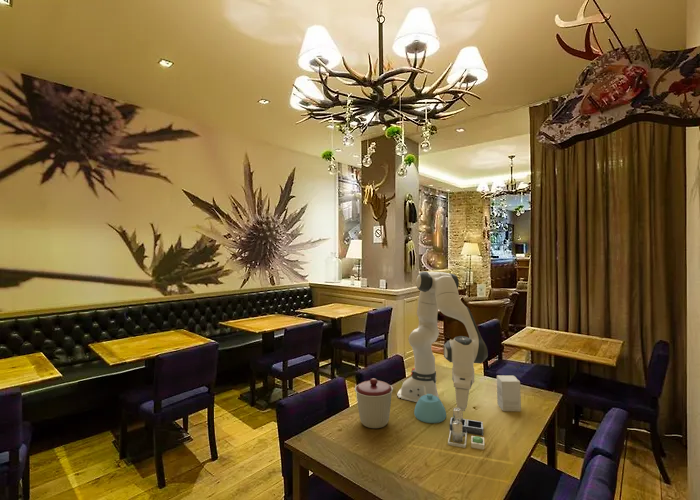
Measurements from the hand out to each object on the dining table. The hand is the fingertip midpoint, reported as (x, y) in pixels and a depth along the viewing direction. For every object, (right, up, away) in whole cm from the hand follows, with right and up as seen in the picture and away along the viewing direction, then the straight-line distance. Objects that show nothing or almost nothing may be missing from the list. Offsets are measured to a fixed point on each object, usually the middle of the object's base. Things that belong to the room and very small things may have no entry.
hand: (463, 409), depth 148 cm
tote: (-2, -14, +1) cm, 15 cm away
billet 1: (+1, -13, +11) cm, 17 cm away
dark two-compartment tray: (+5, -14, +10) cm, 18 cm away
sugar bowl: (-9, -15, +23) cm, 29 cm away
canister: (-36, -15, +19) cm, 43 cm away
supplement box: (+34, -14, +32) cm, 49 cm away
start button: (+5, -13, -3) cm, 14 cm away
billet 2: (-2, -14, +1) cm, 14 cm away
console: (+5, -14, -3) cm, 16 cm away
